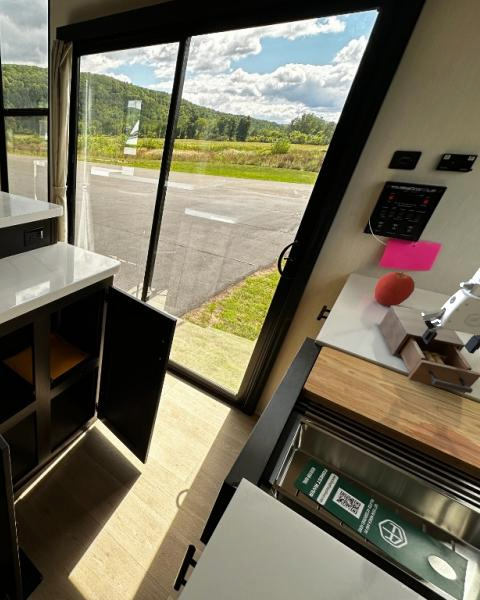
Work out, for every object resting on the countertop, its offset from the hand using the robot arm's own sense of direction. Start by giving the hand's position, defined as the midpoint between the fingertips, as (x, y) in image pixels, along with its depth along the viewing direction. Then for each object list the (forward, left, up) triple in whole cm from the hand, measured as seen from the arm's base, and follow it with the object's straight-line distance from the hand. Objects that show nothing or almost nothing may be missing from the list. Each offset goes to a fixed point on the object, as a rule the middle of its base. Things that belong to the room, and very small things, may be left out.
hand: (446, 345), depth 86 cm
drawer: (0, +1, -9) cm, 10 cm away
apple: (+1, -40, -11) cm, 41 cm away
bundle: (0, 0, -8) cm, 8 cm away
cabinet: (0, -14, -10) cm, 17 cm away
